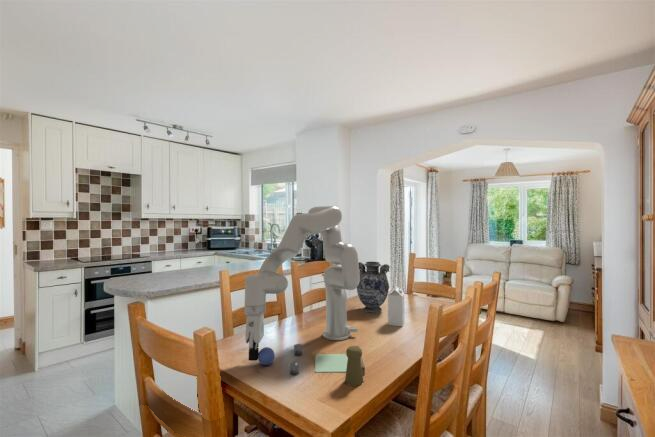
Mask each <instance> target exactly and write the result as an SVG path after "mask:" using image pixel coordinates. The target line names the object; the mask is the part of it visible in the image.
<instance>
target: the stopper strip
mask: <svg viewBox="0 0 655 437" xmlns="http://www.w3.org/2000/svg"><path fill="white" fill-rule="evenodd" d="M357 346H358V347H360V345H357ZM360 359H361V366H362V374H363V376H365V374H366V372H365V371H366V368H365V367H366V366H365V363H364V359H363V357H361V358H360Z"/></svg>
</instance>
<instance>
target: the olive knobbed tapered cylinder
mask: <svg viewBox="0 0 655 437" xmlns="http://www.w3.org/2000/svg"><path fill="white" fill-rule="evenodd" d="M358 346H359V345H351V346H348V347H347V348H346V351H345V354H346V355H347V357H348V361H347V369H346V372H345V377H344V382H345V384H347V385H348V384H349V386H351V385H355V386H354V387H358V386H357V385H359V386H361V384H362V383H363V384H364V375H363V374H362V366H361V359H360V358H361V357H362V356H363V350H362V348H361V347H360V346H359V347H358ZM362 358H363V357H362ZM363 384H362V385H363Z"/></svg>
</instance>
